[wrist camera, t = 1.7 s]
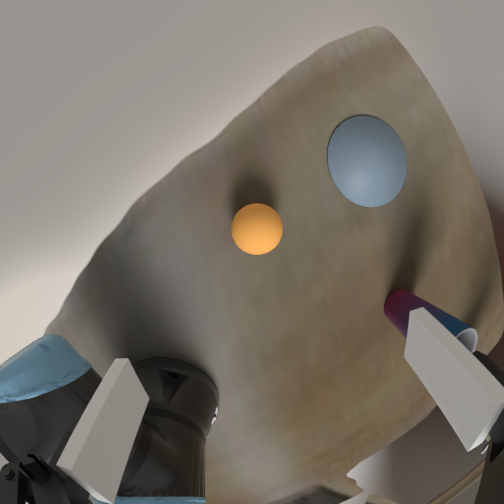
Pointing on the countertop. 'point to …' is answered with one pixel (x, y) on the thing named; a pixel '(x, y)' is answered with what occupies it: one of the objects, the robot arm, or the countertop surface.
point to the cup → (405, 302)
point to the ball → (256, 228)
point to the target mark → (367, 161)
